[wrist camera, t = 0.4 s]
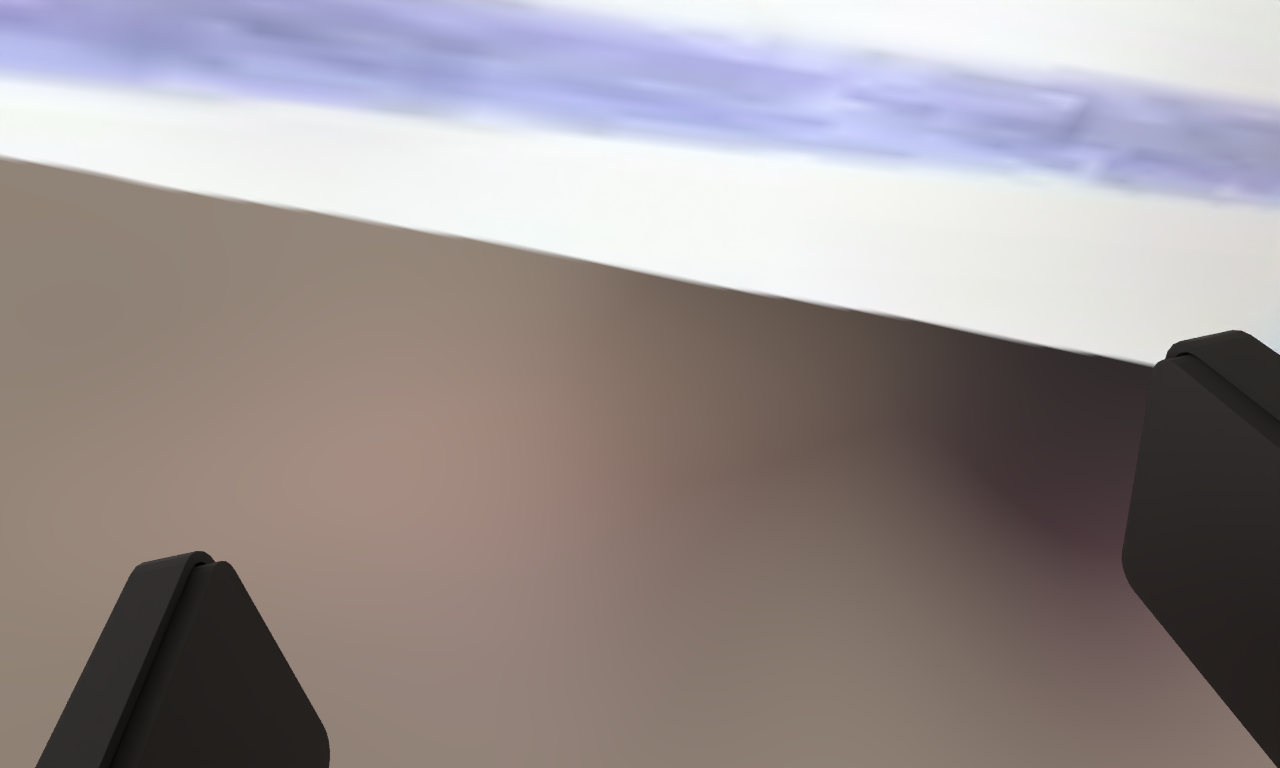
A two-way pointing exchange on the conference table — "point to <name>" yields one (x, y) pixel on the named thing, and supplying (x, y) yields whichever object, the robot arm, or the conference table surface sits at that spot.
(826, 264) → the conference table surface
